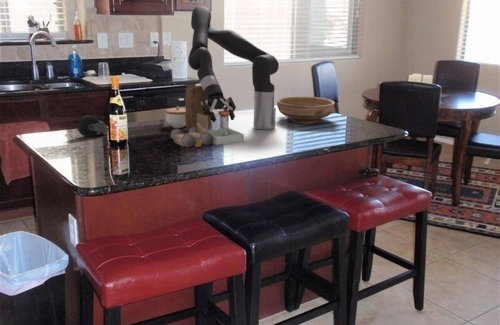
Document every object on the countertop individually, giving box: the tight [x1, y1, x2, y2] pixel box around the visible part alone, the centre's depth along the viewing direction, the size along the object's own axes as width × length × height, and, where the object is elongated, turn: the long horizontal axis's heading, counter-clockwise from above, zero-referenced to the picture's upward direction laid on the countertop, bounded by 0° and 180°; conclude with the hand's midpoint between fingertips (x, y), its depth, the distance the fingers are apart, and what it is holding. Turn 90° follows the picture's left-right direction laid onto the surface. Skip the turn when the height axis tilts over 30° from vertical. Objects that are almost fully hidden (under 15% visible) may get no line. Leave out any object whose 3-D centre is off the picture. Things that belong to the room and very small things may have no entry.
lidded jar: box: [165, 105, 186, 129], centre depth 236 cm, size 11×11×9 cm
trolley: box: [170, 113, 213, 148], centre depth 206 cm, size 13×14×11 cm
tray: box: [208, 127, 245, 146], centre depth 213 cm, size 13×13×3 cm
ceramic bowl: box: [276, 95, 336, 124], centre depth 252 cm, size 37×29×10 cm
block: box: [184, 85, 212, 131], centre depth 227 cm, size 11×8×20 cm
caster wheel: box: [77, 114, 109, 138], centre depth 216 cm, size 6×10×15 cm
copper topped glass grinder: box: [218, 110, 230, 137], centre depth 214 cm, size 5×5×11 cm
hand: (224, 120), depth 210 cm, fingers open, 8 cm apart
